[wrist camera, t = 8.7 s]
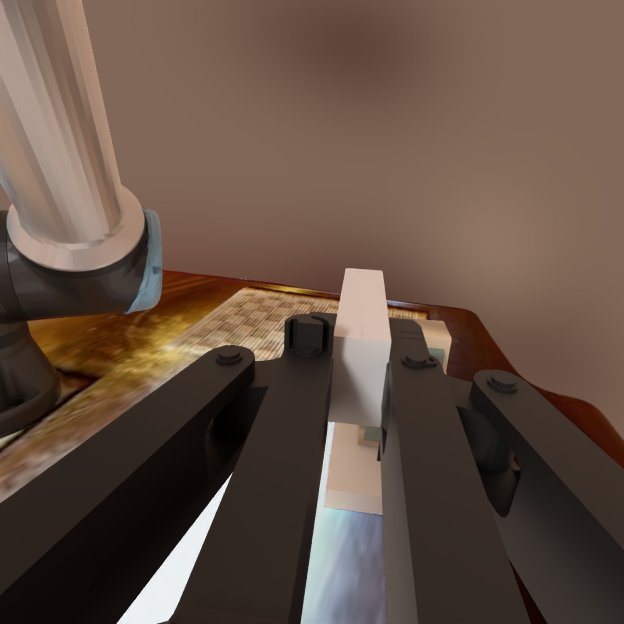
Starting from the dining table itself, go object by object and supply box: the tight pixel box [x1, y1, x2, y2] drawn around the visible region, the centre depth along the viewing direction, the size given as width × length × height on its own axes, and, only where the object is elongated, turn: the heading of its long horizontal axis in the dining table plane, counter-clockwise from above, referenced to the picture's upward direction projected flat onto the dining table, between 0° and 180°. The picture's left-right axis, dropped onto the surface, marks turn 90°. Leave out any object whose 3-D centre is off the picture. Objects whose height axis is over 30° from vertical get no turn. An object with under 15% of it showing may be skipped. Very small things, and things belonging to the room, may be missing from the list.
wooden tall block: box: [358, 317, 452, 446], centre depth 38 cm, size 5×7×12 cm, turn 82°
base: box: [325, 422, 383, 515], centre depth 40 cm, size 14×12×2 cm
